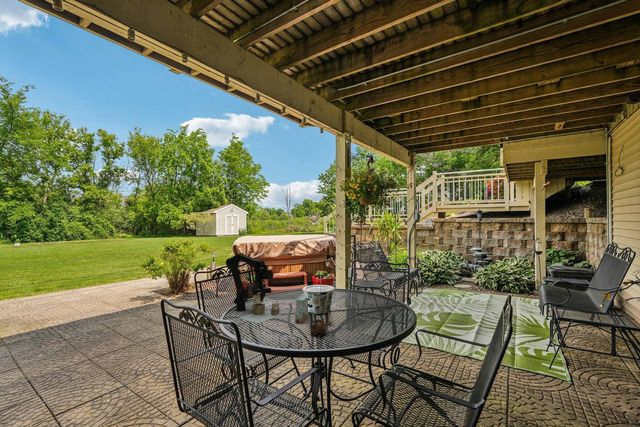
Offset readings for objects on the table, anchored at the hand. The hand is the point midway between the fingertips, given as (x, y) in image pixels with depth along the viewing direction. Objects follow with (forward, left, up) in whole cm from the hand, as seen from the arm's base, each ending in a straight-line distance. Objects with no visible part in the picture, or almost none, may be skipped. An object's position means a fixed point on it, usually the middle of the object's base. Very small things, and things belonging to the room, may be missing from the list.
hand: (258, 301), depth 200 cm
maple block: (0, 0, -1) cm, 1 cm away
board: (+5, -3, -9) cm, 11 cm away
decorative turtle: (+52, -3, -10) cm, 53 cm away
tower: (+11, +5, -8) cm, 15 cm away
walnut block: (0, 0, -8) cm, 8 cm away
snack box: (+29, +13, -10) cm, 33 cm away
